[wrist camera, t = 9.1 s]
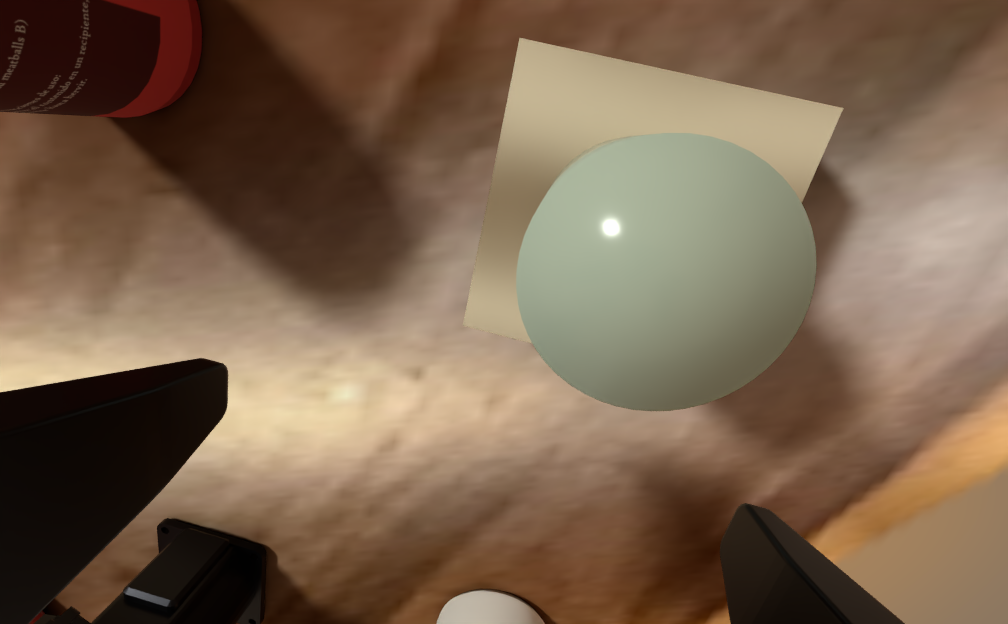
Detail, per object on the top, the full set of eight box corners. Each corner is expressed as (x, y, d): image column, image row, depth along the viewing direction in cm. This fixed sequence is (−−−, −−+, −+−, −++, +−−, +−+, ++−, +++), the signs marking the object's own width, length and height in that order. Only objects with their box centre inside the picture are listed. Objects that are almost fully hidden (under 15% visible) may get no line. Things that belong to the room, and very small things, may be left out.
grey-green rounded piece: (684, 332, 15) (745, 439, 10) (521, 291, 16) (491, 373, 10) (751, 159, 14) (874, 172, 8) (563, 117, 14) (554, 101, 8)
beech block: (692, 344, 20) (719, 391, 16) (483, 291, 20) (462, 325, 17) (783, 115, 16) (843, 108, 13) (532, 60, 17) (519, 37, 13)
